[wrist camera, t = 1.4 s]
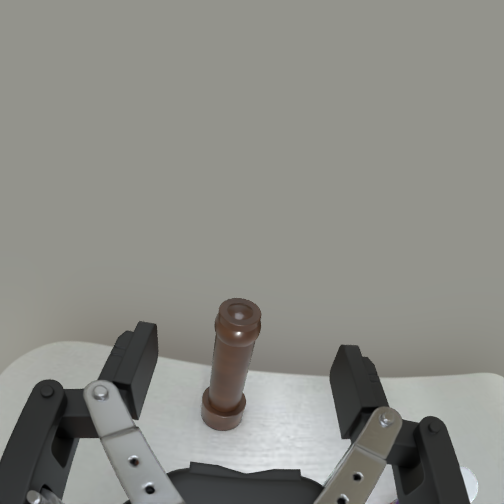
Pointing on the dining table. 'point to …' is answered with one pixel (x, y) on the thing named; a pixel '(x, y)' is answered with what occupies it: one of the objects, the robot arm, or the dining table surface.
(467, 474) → the pill bottle
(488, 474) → the dining table surface
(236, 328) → the brown rolling pin handle
